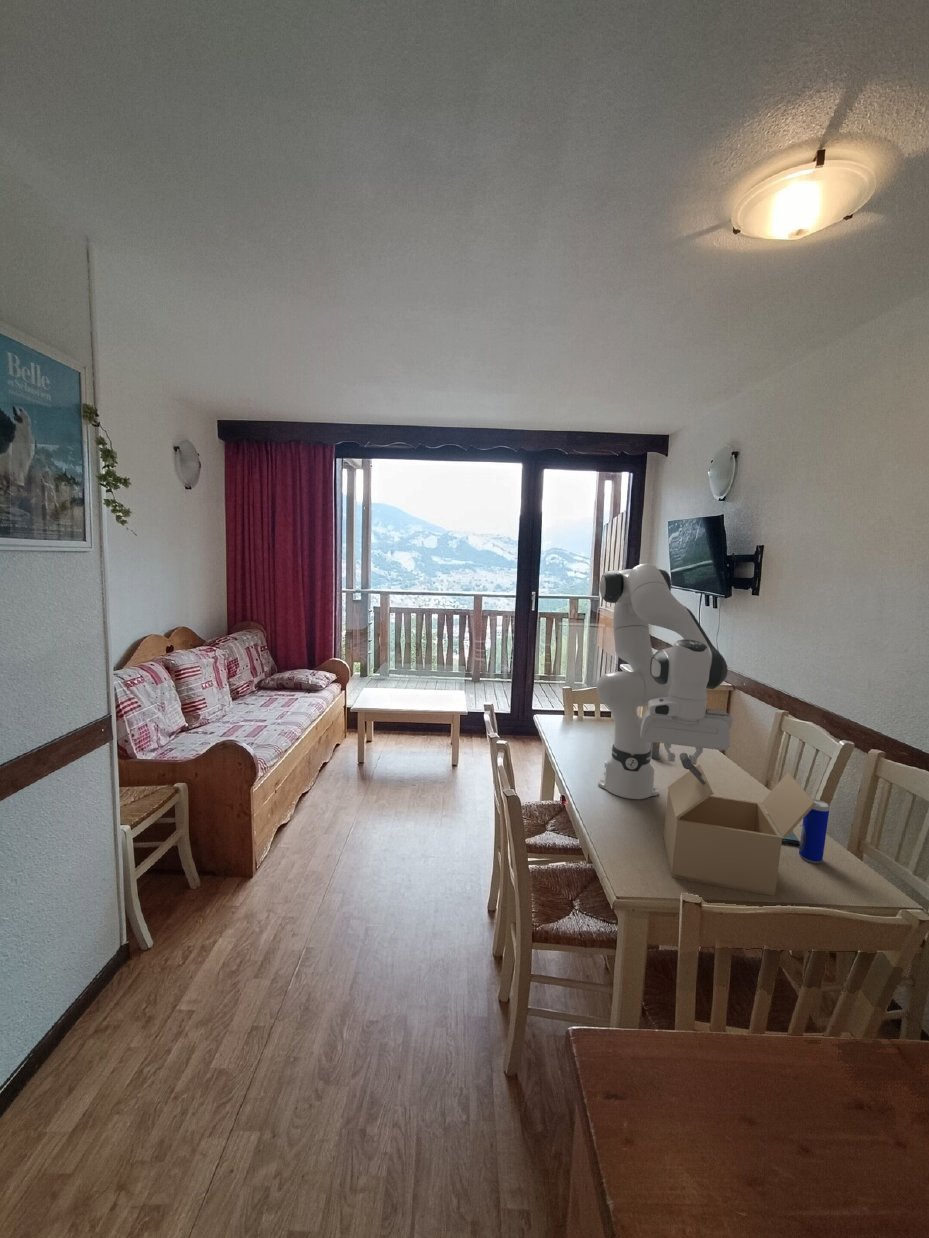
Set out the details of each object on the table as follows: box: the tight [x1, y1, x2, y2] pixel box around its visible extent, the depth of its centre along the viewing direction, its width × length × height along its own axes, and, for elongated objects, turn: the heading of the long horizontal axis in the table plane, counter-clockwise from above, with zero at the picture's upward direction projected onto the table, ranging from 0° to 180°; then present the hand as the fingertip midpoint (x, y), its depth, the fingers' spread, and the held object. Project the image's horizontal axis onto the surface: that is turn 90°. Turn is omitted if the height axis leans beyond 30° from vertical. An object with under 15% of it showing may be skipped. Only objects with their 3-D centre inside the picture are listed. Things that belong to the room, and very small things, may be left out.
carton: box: [663, 790, 783, 897], centre depth 131 cm, size 18×22×14 cm
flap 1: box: [667, 752, 714, 819], centre depth 132 cm, size 17×10×7 cm
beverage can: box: [798, 798, 830, 864], centre depth 136 cm, size 5×5×15 cm
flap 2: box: [760, 772, 816, 838], centre depth 126 cm, size 17×10×1 cm
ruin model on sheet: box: [650, 742, 661, 760], centre depth 207 cm, size 11×3×10 cm, turn 178°
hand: (681, 762), depth 131 cm, fingers open, 3 cm apart
